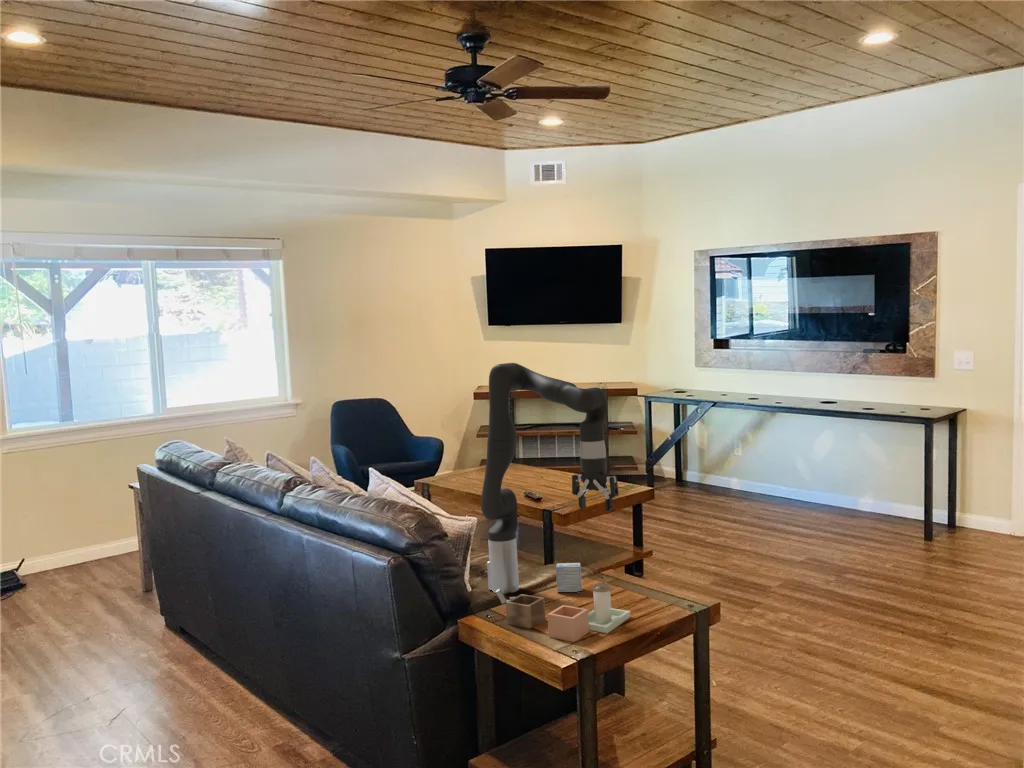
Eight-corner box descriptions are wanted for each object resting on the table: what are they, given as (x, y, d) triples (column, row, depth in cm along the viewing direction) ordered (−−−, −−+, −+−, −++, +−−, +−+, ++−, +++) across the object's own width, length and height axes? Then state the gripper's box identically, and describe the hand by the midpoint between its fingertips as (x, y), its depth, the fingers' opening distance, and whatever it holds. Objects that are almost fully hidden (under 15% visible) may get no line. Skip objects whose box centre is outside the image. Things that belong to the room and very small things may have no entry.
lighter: (521, 613, 228) (519, 587, 228) (520, 615, 227) (519, 589, 226) (497, 614, 229) (495, 588, 228) (497, 616, 227) (495, 590, 227)
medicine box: (582, 588, 249) (580, 562, 248) (581, 593, 244) (580, 566, 244) (557, 589, 249) (556, 563, 249) (557, 593, 245) (555, 567, 245)
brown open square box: (507, 626, 218) (505, 602, 218) (522, 617, 225) (521, 594, 224) (530, 631, 214) (529, 606, 213) (545, 621, 220) (544, 597, 220)
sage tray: (575, 630, 212) (574, 621, 212) (599, 614, 224) (599, 606, 224) (607, 636, 206) (606, 627, 206) (630, 619, 218) (630, 611, 218)
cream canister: (590, 622, 214) (589, 587, 214) (599, 617, 219) (597, 582, 218) (606, 625, 212) (605, 590, 211) (615, 619, 216) (613, 585, 215)
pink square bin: (548, 639, 207) (547, 614, 206) (564, 629, 213) (562, 605, 213) (574, 644, 202) (573, 618, 202) (589, 634, 209) (588, 609, 208)
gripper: (565, 456, 226) (568, 511, 226) (608, 458, 217) (611, 514, 218) (578, 453, 232) (581, 506, 233) (620, 454, 224) (623, 509, 224)
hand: (595, 510), depth 225 cm, fingers open, 8 cm apart
